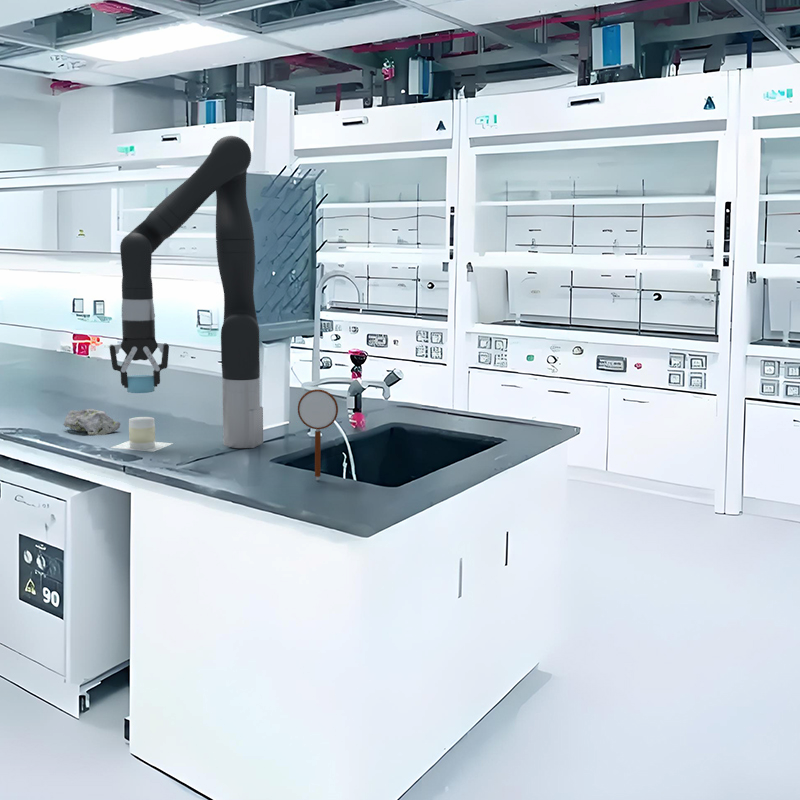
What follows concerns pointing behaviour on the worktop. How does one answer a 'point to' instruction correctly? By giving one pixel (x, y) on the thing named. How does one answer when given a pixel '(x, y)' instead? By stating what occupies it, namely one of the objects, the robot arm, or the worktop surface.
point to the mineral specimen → (91, 422)
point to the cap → (140, 384)
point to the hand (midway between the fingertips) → (140, 386)
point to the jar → (142, 433)
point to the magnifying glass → (317, 417)
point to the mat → (127, 446)
